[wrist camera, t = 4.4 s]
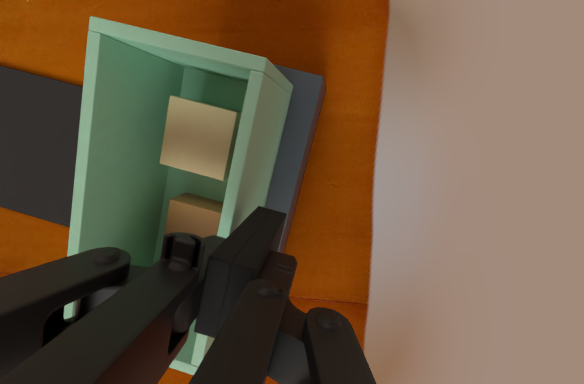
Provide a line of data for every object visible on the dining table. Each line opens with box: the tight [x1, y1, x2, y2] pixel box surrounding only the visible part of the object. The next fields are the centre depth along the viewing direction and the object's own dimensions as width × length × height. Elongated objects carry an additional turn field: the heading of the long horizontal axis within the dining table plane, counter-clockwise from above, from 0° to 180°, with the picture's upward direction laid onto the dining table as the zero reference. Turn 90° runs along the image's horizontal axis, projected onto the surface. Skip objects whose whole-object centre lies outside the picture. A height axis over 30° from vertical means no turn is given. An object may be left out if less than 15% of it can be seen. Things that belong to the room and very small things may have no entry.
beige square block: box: [160, 95, 242, 181], centre depth 20 cm, size 4×4×4 cm
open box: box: [64, 16, 293, 375], centre depth 19 cm, size 16×8×8 cm, turn 166°
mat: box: [0, 66, 83, 227], centre depth 31 cm, size 14×31×1 cm, turn 76°
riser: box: [265, 64, 326, 254], centre depth 26 cm, size 18×10×6 cm, turn 166°
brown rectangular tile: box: [160, 192, 223, 258], centre depth 22 cm, size 5×4×2 cm
